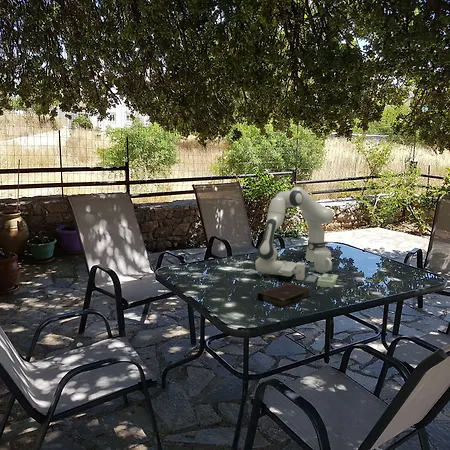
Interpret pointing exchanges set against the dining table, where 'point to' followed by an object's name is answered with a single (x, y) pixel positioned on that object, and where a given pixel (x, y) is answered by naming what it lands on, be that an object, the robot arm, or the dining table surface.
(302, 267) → the charger
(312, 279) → the phone
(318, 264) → the mug
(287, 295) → the diary
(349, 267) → the dining table surface
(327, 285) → the green desk organizer
